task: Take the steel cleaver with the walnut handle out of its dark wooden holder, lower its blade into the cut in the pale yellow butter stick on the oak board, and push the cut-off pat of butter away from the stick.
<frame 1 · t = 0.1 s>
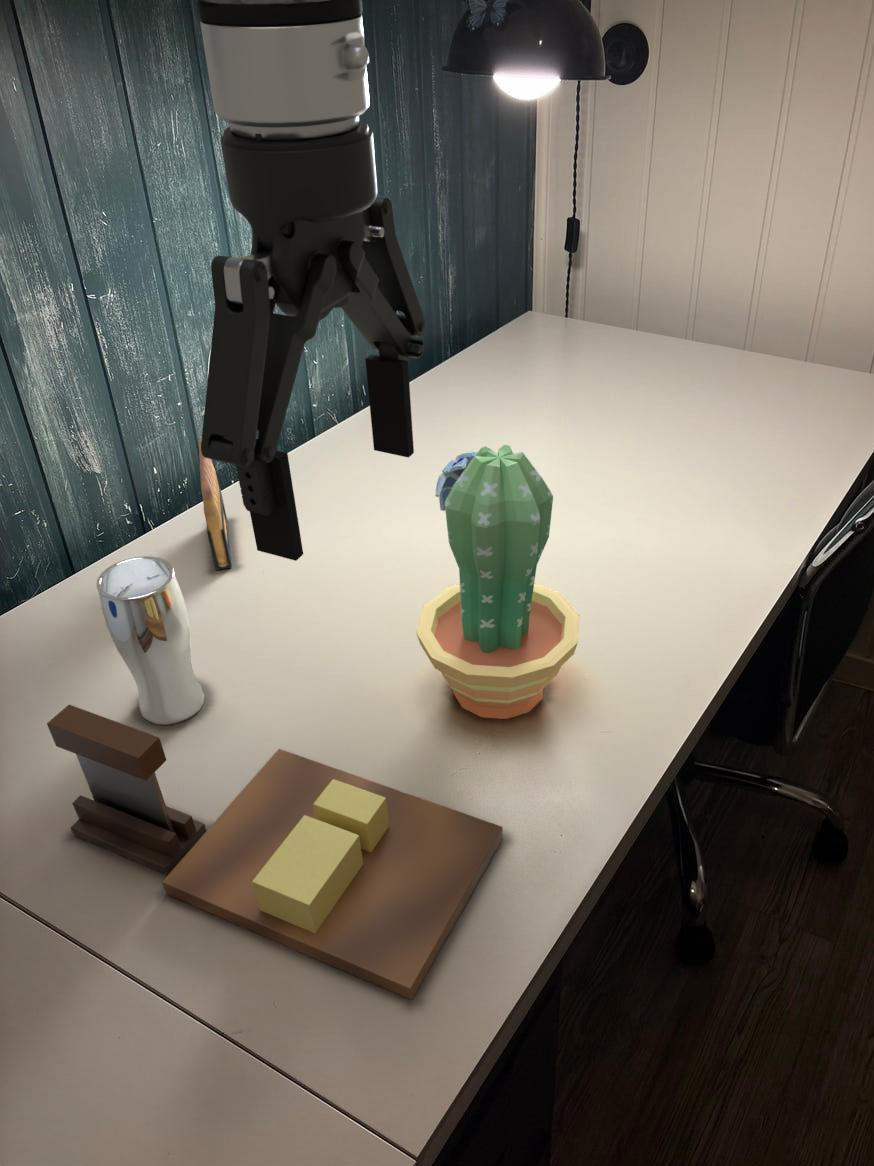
hand: (341, 498, 60), 32 cm above the table, tool pointing down, fingers open, 13 cm apart
butter pat: (353, 829, 78), point 1 cm above the table, touching board
knife holder: (140, 833, 80), on the table
cleaver: (137, 825, 79), point 1 cm above the table, touching knife holder
board: (338, 865, 77), on the table
beer glass: (173, 705, 92), on the table
butter: (312, 886, 73), point 1 cm above the table, touching board
potted cactus: (498, 689, 93), on the table
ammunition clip: (222, 546, 114), on the table
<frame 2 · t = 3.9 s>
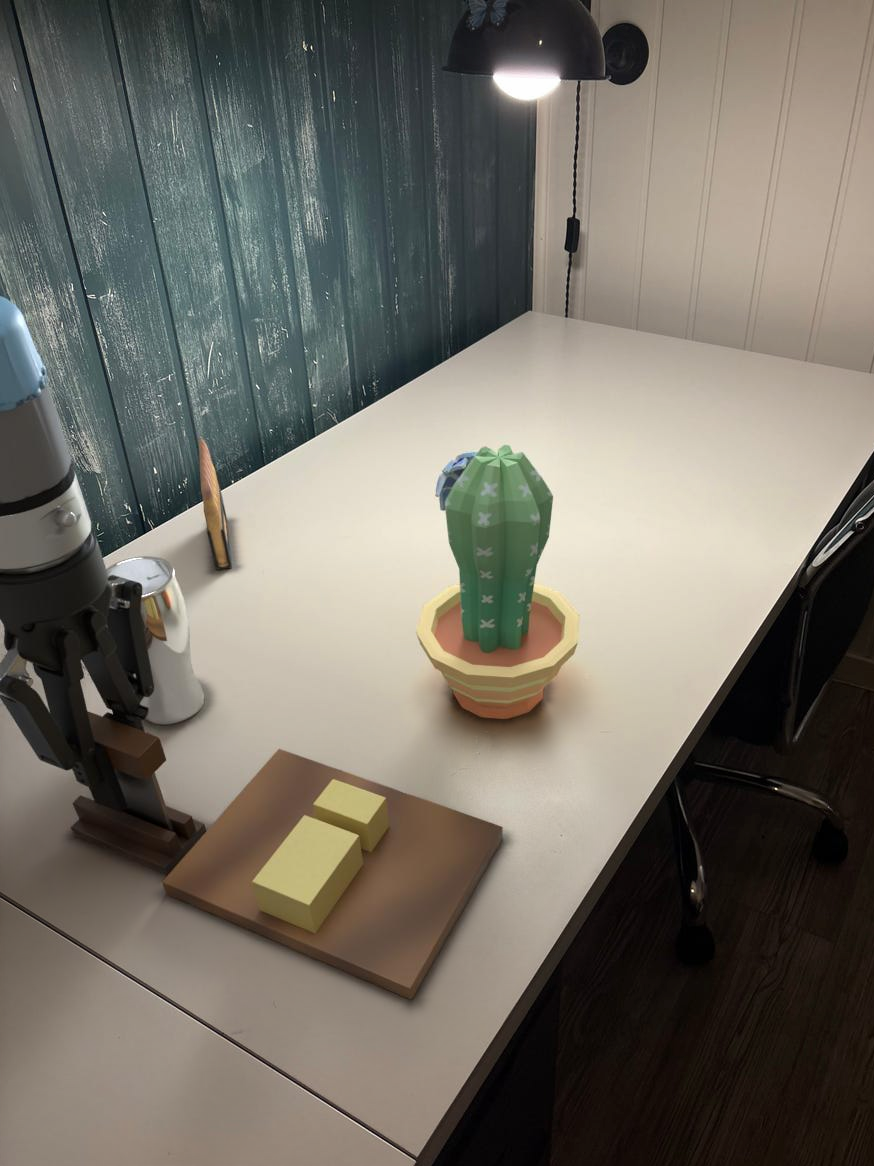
hand: (124, 790, 76), 5 cm above the table, tool pointing down, fingers closed on cleaver, 2 cm apart
cleaver: (137, 825, 79), point 1 cm above the table, touching gripper, knife holder
everything else where it was.
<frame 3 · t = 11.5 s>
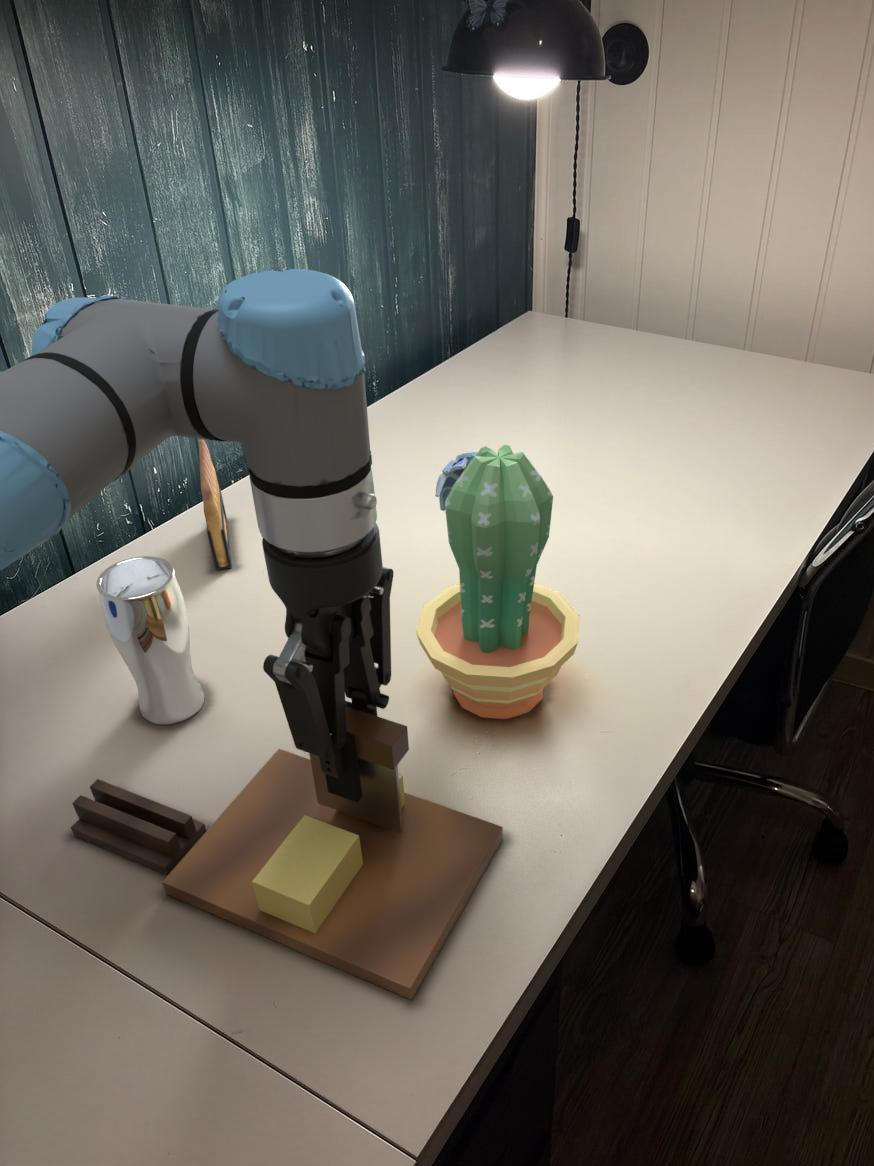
hand: (355, 780, 75), 6 cm above the table, tool pointing down, fingers closed on cleaver, 2 cm apart
butter pat: (370, 806, 79), point 2 cm above the table, touching board, cleaver
cleaver: (360, 817, 78), point 2 cm above the table, touching butter pat, gripper
everything else where it was.
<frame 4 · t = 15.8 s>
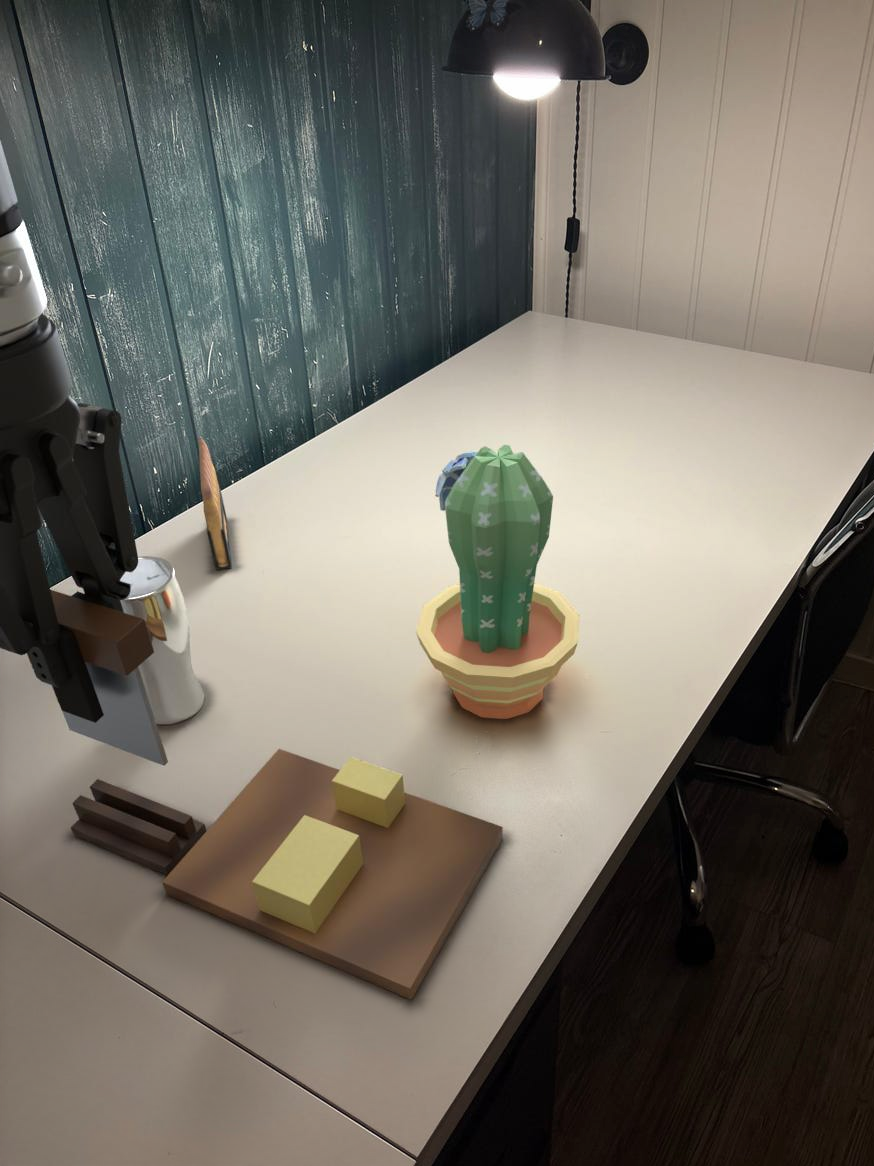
hand: (100, 696, 59), 22 cm above the table, tool pointing down, fingers closed on cleaver, 2 cm apart
butter pat: (371, 806, 80), point 1 cm above the table, touching board
cleaver: (118, 745, 62), point 18 cm above the table, touching gripper
everything else where it was.
at the end: butter pat inside the target area (1.2 cm from its centre), point 1.5 cm above the table; butter pat tilted 0°; butter moved 0.0 cm from its start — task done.
